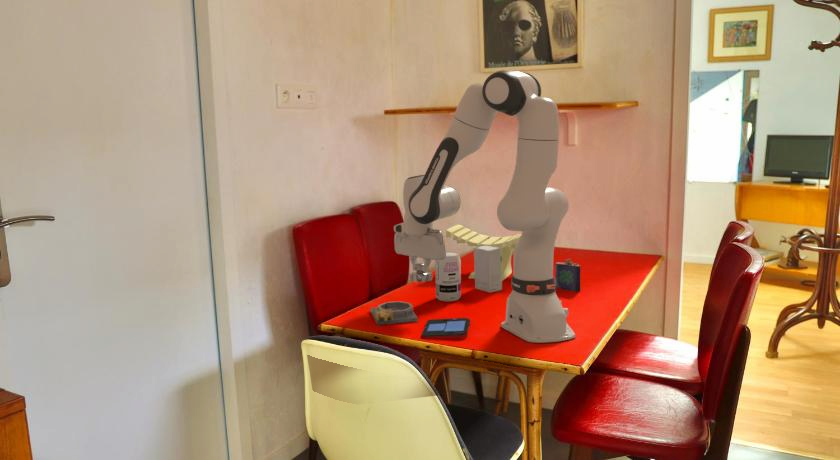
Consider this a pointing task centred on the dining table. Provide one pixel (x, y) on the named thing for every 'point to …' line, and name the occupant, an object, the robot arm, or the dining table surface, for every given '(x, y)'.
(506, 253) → the slatted curved stool
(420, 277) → the planet gear
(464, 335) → the game console
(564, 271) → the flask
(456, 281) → the supplement can
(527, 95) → the robot arm
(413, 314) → the carrier board
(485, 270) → the skincare box
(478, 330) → the dining table surface
